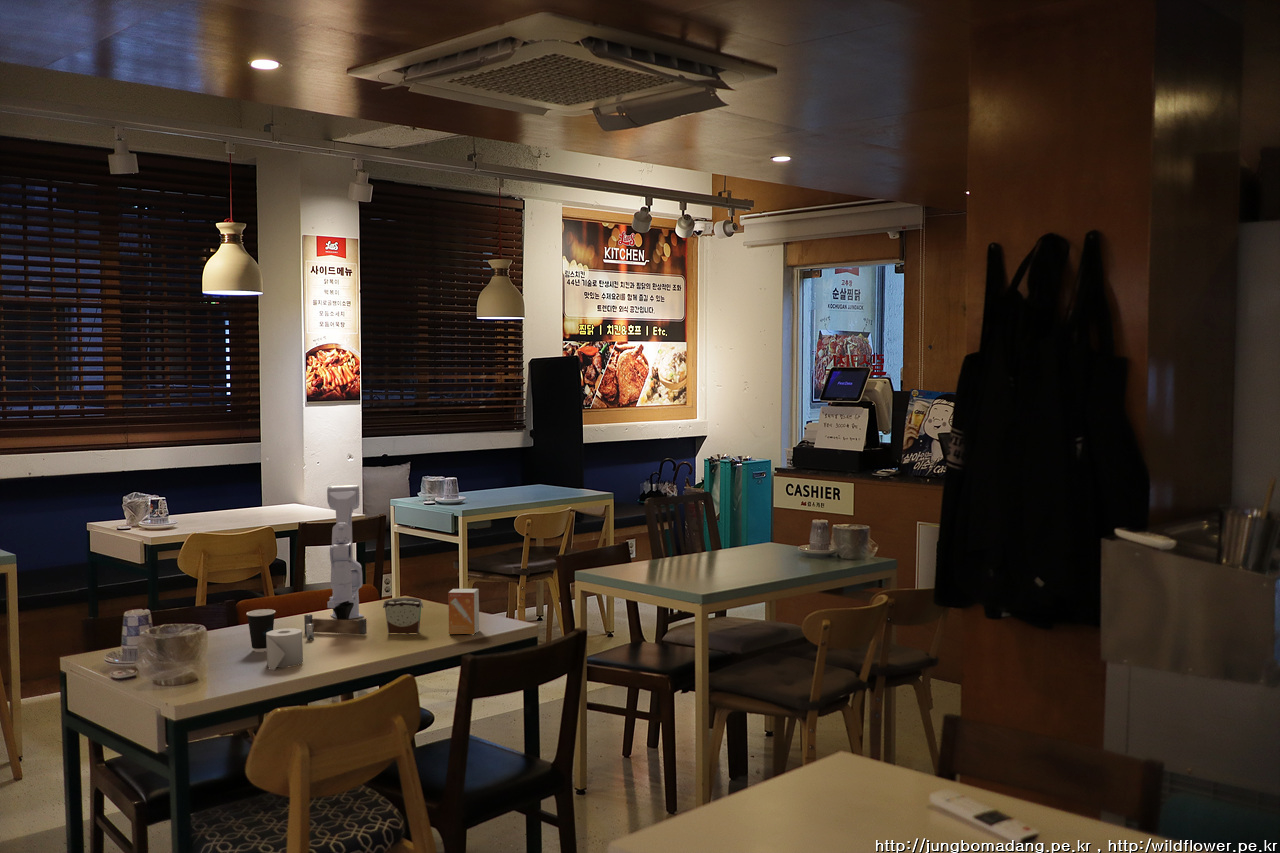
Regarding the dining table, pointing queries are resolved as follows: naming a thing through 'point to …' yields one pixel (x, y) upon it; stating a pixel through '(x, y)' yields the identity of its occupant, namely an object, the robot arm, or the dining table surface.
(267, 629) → the dixie cup
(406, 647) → the dining table surface
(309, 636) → the post
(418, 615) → the food container
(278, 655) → the toilet tissue
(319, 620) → the brown long bar
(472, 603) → the small box
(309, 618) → the hinge post
